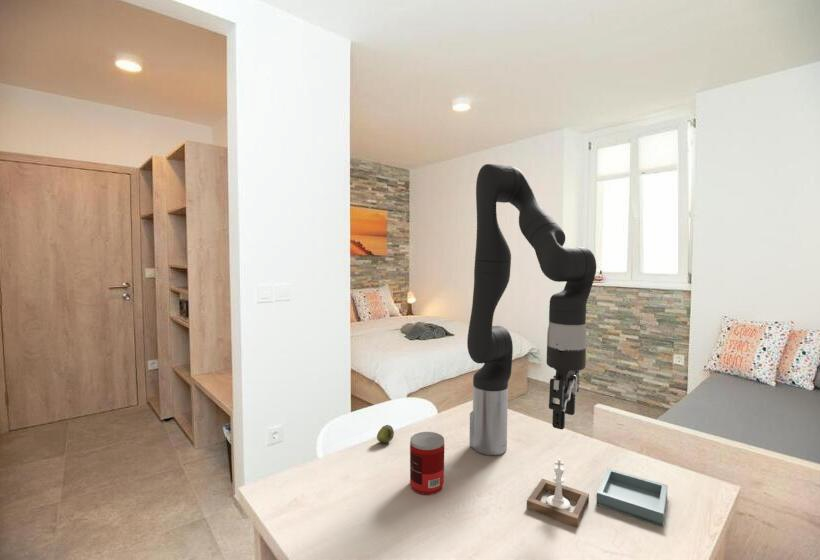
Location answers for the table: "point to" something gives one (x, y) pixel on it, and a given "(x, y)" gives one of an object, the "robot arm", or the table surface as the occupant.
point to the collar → (553, 511)
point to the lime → (385, 434)
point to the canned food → (427, 462)
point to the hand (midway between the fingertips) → (563, 420)
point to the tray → (633, 496)
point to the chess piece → (558, 490)
